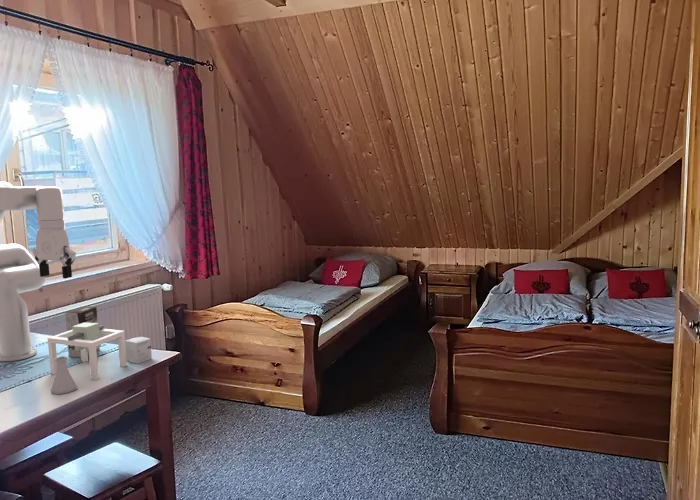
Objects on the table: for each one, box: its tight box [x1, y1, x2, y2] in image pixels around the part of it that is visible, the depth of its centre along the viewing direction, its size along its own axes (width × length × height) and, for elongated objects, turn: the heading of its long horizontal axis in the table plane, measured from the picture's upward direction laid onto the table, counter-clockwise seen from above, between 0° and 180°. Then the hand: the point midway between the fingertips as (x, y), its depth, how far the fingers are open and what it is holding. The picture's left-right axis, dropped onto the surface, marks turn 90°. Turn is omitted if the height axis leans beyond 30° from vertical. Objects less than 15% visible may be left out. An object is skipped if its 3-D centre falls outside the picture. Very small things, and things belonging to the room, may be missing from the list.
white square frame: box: [47, 324, 128, 381], centre depth 183 cm, size 18×14×13 cm
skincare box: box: [125, 336, 153, 364], centre depth 193 cm, size 6×6×7 cm
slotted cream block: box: [72, 322, 102, 351], centre depth 183 cm, size 6×5×8 cm
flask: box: [50, 355, 78, 395], centre depth 167 cm, size 7×7×10 cm
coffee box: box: [64, 306, 101, 358], centre depth 200 cm, size 9×6×16 cm
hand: (56, 276), depth 185 cm, fingers open, 9 cm apart
